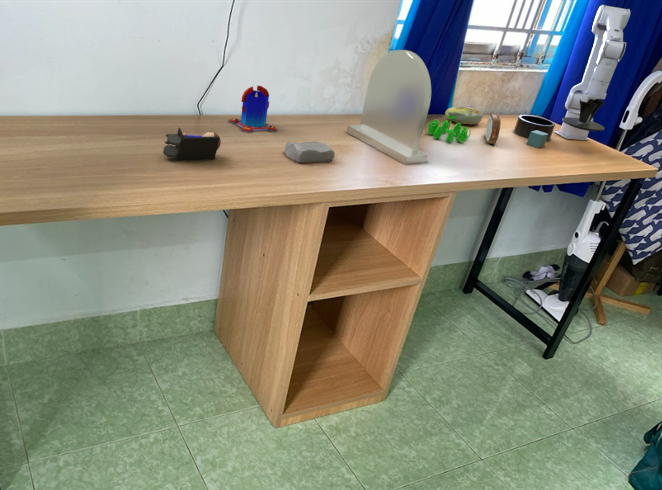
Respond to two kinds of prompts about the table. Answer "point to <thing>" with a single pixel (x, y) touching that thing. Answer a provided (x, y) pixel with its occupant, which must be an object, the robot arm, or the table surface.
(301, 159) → the stone block
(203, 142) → the character figurine
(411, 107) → the award
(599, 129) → the lid
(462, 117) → the cell model
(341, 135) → the table surface
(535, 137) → the block
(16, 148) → the table surface
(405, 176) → the table surface
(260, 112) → the fantasy tower
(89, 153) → the table surface
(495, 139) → the tin
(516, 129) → the black round container
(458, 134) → the green bumpy cluster
